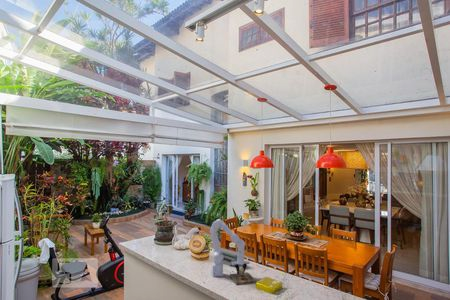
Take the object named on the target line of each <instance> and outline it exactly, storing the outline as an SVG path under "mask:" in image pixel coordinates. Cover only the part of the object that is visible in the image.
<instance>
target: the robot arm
mask: <svg viewBox="0 0 450 300" xmlns="http://www.w3.org/2000/svg"><path fill="white" fill-rule="evenodd" d="M218 230H223V231H224V232H225V233H226V234H228V236H229V237H230V240H231V241H232V243H234V244H235V245H236V248H237V251H236V252H237V261H236V262H232V265H231V266H234V267H235V271H236V273H237V274H239V267H240V265H242V266H241V267H243V268H244V273H246V269H247V267H248V265H250V263H251V262H250V261H249V260H245V254H246V253H245V247H246V243H245V241H244V239H243V240H242V238H240V237H239V234H236V233H234V232H233V231H232V230H231V228H229V227H228V226H227V223H225V222H224V221H223V220H222V219H221V218H218V219H216V220H215V221H214V220H213V222H212V224H211V227H210V229H209V232H210V236H211V237H210V238H211V242H212V248H213V253H214V254H213V263H211V265H210V275H211V276H212V277H214V278H215V277H224V276H225V274H224V264H223V261H222V260H223V259H224V256H223V254H222V252H221V251H220V248H221V247H220V241H219V238H218V237H219V236H218Z"/></svg>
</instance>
